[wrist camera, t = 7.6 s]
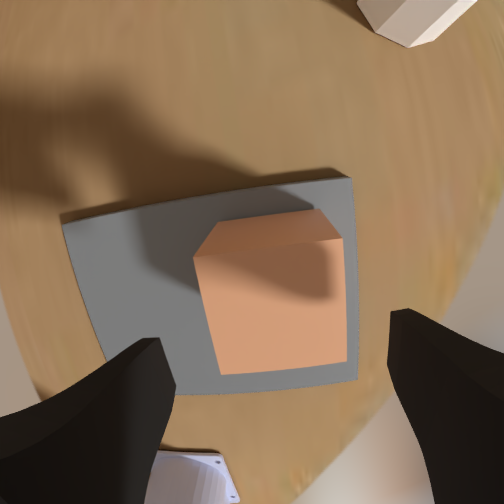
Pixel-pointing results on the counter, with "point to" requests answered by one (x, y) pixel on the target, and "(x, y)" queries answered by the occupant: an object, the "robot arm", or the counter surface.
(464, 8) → the white bottle
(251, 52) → the counter surface
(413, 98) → the counter surface
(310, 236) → the salmon pink block
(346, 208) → the board
